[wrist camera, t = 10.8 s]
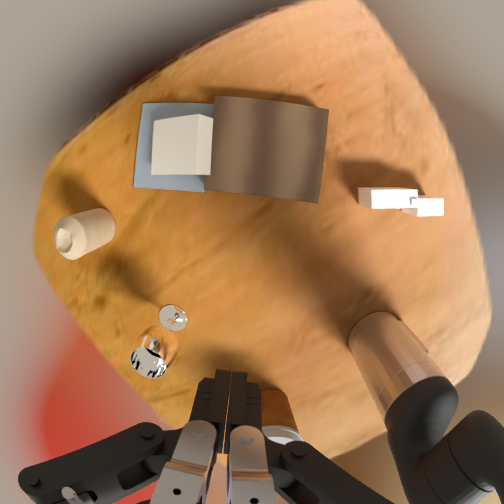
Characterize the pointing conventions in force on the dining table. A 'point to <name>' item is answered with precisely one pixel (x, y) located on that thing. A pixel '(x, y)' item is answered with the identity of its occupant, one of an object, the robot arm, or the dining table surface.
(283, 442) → the disposable coffee cup
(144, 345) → the wineglass
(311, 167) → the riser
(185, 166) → the white block
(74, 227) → the candle
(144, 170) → the mat
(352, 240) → the dining table surface
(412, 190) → the napkin holder
